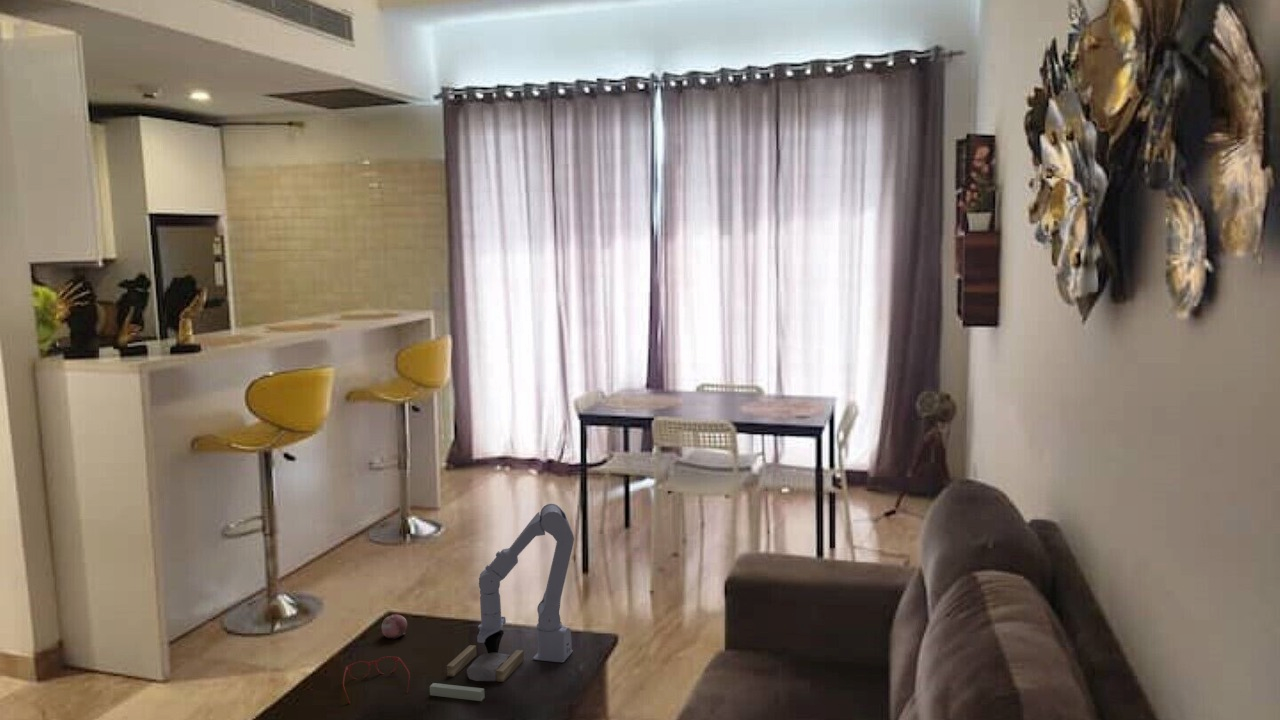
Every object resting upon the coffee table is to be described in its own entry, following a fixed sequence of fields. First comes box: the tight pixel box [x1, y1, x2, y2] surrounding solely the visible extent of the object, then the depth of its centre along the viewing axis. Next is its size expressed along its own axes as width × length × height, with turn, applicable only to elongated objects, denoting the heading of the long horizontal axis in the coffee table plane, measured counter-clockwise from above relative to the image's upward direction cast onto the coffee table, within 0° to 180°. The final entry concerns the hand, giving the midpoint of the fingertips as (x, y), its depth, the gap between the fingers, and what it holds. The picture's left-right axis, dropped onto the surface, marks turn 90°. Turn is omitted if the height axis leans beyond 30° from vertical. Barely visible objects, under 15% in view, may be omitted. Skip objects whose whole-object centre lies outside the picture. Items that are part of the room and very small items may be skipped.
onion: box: [380, 614, 408, 641], centre depth 287 cm, size 8×8×7 cm
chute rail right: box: [496, 649, 525, 683], centre depth 261 cm, size 2×14×3 cm, turn 164°
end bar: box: [429, 682, 486, 702], centre depth 246 cm, size 15×2×2 cm, turn 74°
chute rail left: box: [446, 644, 478, 677], centre depth 265 cm, size 2×14×3 cm, turn 164°
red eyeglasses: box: [342, 655, 411, 704], centre depth 254 cm, size 17×16×5 cm
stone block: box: [466, 652, 511, 682], centre depth 260 cm, size 12×5×10 cm
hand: (493, 656), depth 267 cm, fingers closed
